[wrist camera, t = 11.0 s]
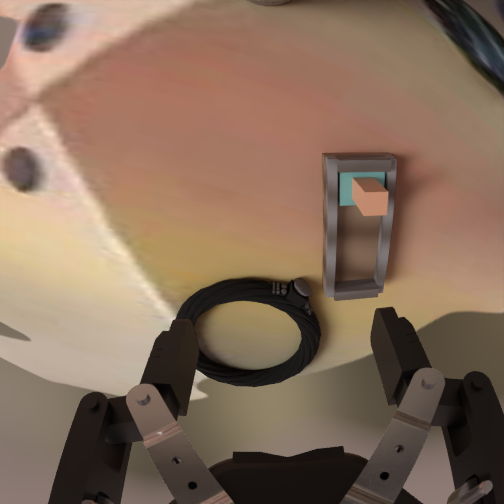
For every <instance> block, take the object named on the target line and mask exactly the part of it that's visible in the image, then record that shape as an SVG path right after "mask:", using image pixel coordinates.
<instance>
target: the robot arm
mask: <svg viewBox="0 0 504 504" xmlns="http://www.w3.org/2000/svg"><path fill="white" fill-rule="evenodd" d="M248 1H250V2H252V3H255V4H258V5H263V6H276V5H281V4H284V3H287V2H289V1H291V0H248ZM370 338H371V347H372V350H373V353H374V357H375V360H376V363H377V366H378V370H379V373H380V376H381V380H382V384H383V387H384V391H385V394H386V398H387V402H388V405H394V404H397V408H398V410H397V412H396V413H395V415H394V417H393V419H392V421H391V423H390V425H389V426H388V428H387V430H386V432H385V434H384V436H383V437H382V439H381V441H380V443H379V444H378V446H377V448H376V450H375V451H374V453H373V455H372V456H371V458H370V460H367V459H365V458H363V457H361V456H359V455H355V454H351V453H345V452H344V448H343V446H339V447H331V448H321V449H315V450H312V451H309V452H305V453H302V454H298V455H295V456H291V457H284V456H279V455H273V454H268V453H263V452H233V458H231V459H227V460H224V461H221V462H219V463H216V464H215V465H213V466H211V467H210V468H207V467H206V465H205V464H204V462H203V461H202V459H201V458H200V457H199V455H198V454H197V452H196V451H195V449H194V448H193V446H192V445H191V444H190V442H189V441H188V439H187V437H186V436H185V435H184V433H183V431H182V430H181V428H180V426H179V425H178V424H177V418H178V415H180V416H186V414H187V409H188V405H189V400H190V395H191V390H192V385H193V380H194V376H195V371H196V366H197V362H198V357H199V345H198V341H197V338H196V334H195V331H194V328H193V324H192V321H191V320H190V319H181V320H173V321H172V324H171V327H170V330H169V331H162V333H161V334H160V335H159V336H158V337H157V338H156V340H155V342H154V345H153V348H152V351H151V353H150V357H149V359H148V362H147V365H146V367H145V370H144V373H143V376H142V379H141V382H140V384H139V385H137V386H135V387H133V388H132V389H131V390H130V391H129V392H128V394H127V395H126V396H122V397H116V398H110V399H107V398H106V396H105V395H104V394H102V393H100V392H92V393H89V394H87V395H86V396H84V397H83V398H82V399H81V401H80V403H79V406H78V408H77V411H76V414H75V417H74V420H73V422H72V425H71V428H70V432H69V434H68V437H67V440H66V443H65V446H64V450H63V453H62V456H61V459H60V463H59V466H58V469H57V472H56V476H55V479H54V483H53V487H52V490H51V494H50V498H49V502H48V504H120V503H121V497H122V492H123V487H124V481H125V476H126V471H127V466H128V461H129V456H130V451H131V446H132V442H136V441H141V440H144V441H143V443H144V445H145V448H146V449H147V451H148V453H149V455H150V457H151V459H152V461H153V462H154V464H155V466H156V468H157V470H158V471H159V473H160V475H161V477H162V478H163V480H164V482H165V484H166V485H167V487H168V489H169V490H170V492H171V494H172V495H173V497H174V498H175V499H174V500H172V501H171V502H170V503H169V504H423V503H421V502H420V501H418V499H416V498H415V497H414V496H412V495H411V494H410V493H408V492H407V491H406V490H405V489H403V488H402V487H403V486H404V484H405V482H406V480H407V478H408V476H409V474H410V472H411V470H412V468H413V466H414V464H415V462H416V460H417V458H418V456H419V454H420V452H421V450H422V447H423V445H424V443H425V441H426V439H427V436H428V434H429V431H430V428H431V426H441V427H442V431H443V435H444V439H445V443H446V448H447V452H448V456H449V461H450V466H451V471H452V476H453V481H454V486H455V491H454V492H453V493H452V494H451V495H450V496H449V498H448V501H447V504H504V414H503V411H502V408H501V406H500V403H499V400H498V398H497V396H496V393H495V391H494V388H493V386H492V384H491V381H490V379H489V378H488V377H487V376H486V375H485V374H484V373H482V372H477V371H473V372H470V373H468V374H467V375H466V376H465V377H464V379H449V378H444V377H443V375H442V374H441V373H440V372H439V371H438V370H436V369H433V368H432V367H431V365H430V363H429V360H428V358H427V356H426V353H425V351H424V349H423V347H422V344H421V342H419V338H418V336H417V335H416V331H415V329H414V327H413V325H412V324H411V323H410V322H409V321H408V320H407V319H406V318H405V317H400V318H398V316H397V314H396V312H395V309H394V308H393V307H385V308H377V309H376V310H375V314H374V319H373V325H372V330H371V337H370Z"/></svg>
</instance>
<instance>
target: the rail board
mask: <svg viewBox="0 0 504 504" xmlns="http://www.w3.org/2000/svg"><path fill="white" fill-rule="evenodd" d="M322 165H323V273H322V286H323V290H325V294H326V298H327V297H334V300H335V301H339V300H351V299H362V298H372V297H378V293H383V288H384V282H385V276H386V269H387V262H388V255H389V248H390V239H391V231H392V221H393V211H394V199H395V185H396V167H397V158H395V157H394V156H393V155H392V154H390V153H322ZM337 171H338V172H339V173H349V172H385V181H384V188H385V189H386V190H387V191H388V206H387V215H377V216H363V214H362V213H361V211H360V210H359V208H358V207H357V205H347V206H340V205H339V204H338V202H337V198H338V174H337Z"/></svg>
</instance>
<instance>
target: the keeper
mask: <svg viewBox="0 0 504 504" xmlns="http://www.w3.org/2000/svg"><path fill="white" fill-rule="evenodd" d="M337 174H338V198H337V202H338V204H339V205H340V206H347V205H357V207H358V208H359V210H360V211H361V213H362V214H363V216H377V215H387V206H388V191H387V190H386V189H385V188H384V181H385V172H349V173H339V172H338V171H337Z"/></svg>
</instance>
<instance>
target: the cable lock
mask: <svg viewBox="0 0 504 504" xmlns="http://www.w3.org/2000/svg"><path fill="white" fill-rule="evenodd" d="M311 295H312V291H311V288H310V287H309V286H308V285H307V283H306V282H305V281H304V280H301V279H299V278H296V279H295V282H294V281H293V280H291V281H290V282H289V284H288V286H286V284H285V283H281V284H280V283H279V282H276V285H275V282H272V284H271V283H268V282H266V281H257V280H247V279H242V280H231V281H222V282H218V283H215V284H213V285H211V286H209V287H206V288H203V289H200V290H199V291H198V292H196V293H195V294H193V295H192V296H191V297H189V298H188V299H187V300H186V301H185V302H184V303H183V304H182V306H181V308H180V310H179V311H178V314H177V317H176V319H175V320H181V319H190V320H191V321H192V324H193V328H194V323H195V321H196V320H197V318H198V317H199V316H200V315H201V314H202V313H204V312H206V311H207V310H209V309H211V308H212V307H214V306H216V305H217V304H223V303H228V302H234V301H252V302H258V303H263V304H268V305H271V306H273V307H275V308H277V309H279V310H281V311H284V312H286V313H287V314H288V315H289V316H290V317H291V318H292V319H293V320H294V321H295V322H296V323H297V325H298V327H299V329H300V331H301V337H302V340H301V343H300V346H299V349H298V350H297V352H296V353H295V354H294V355H293V356H292V357H291V358H290V359H288V360H287V361H286V362H284V363H282V364H280V365H277V366H275V367H272V368H270V369H265V370H256V371H242V370H237V369H230V368H226V367H224V366H222V365H220V364H218V363H216V362H214V361H212V360H210V359H209V358H208V357H206V356H205V355H204V354H203V353H202V352H201V351H200V350H199V357H198V362H197V366H196V369H197V370H198V371H200V372H201V373H203V374H204V375H205V376H207V377H209V378H211V379H214V380H216V381H218V382H222V383H227V384H231V385H234V386H251V387H257V386H264V385H269V384H275V383H280V382H282V381H284V380H286V379H288V378H290V377H292V376H295V375H296V374H298V373H300V372H301V371H302V370H303V369H304V368H305V367H306V366H307V365H308V364H309V363H310V362H311V361H312V359H313V358H314V356H315V354H316V353H317V350H318V348H319V341H320V337H321V332H320V326H319V322H318V320H317V317H316V314H315V313H314V312H313V311H312V307H311V305H310V303H309V299H308V296H311Z"/></svg>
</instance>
